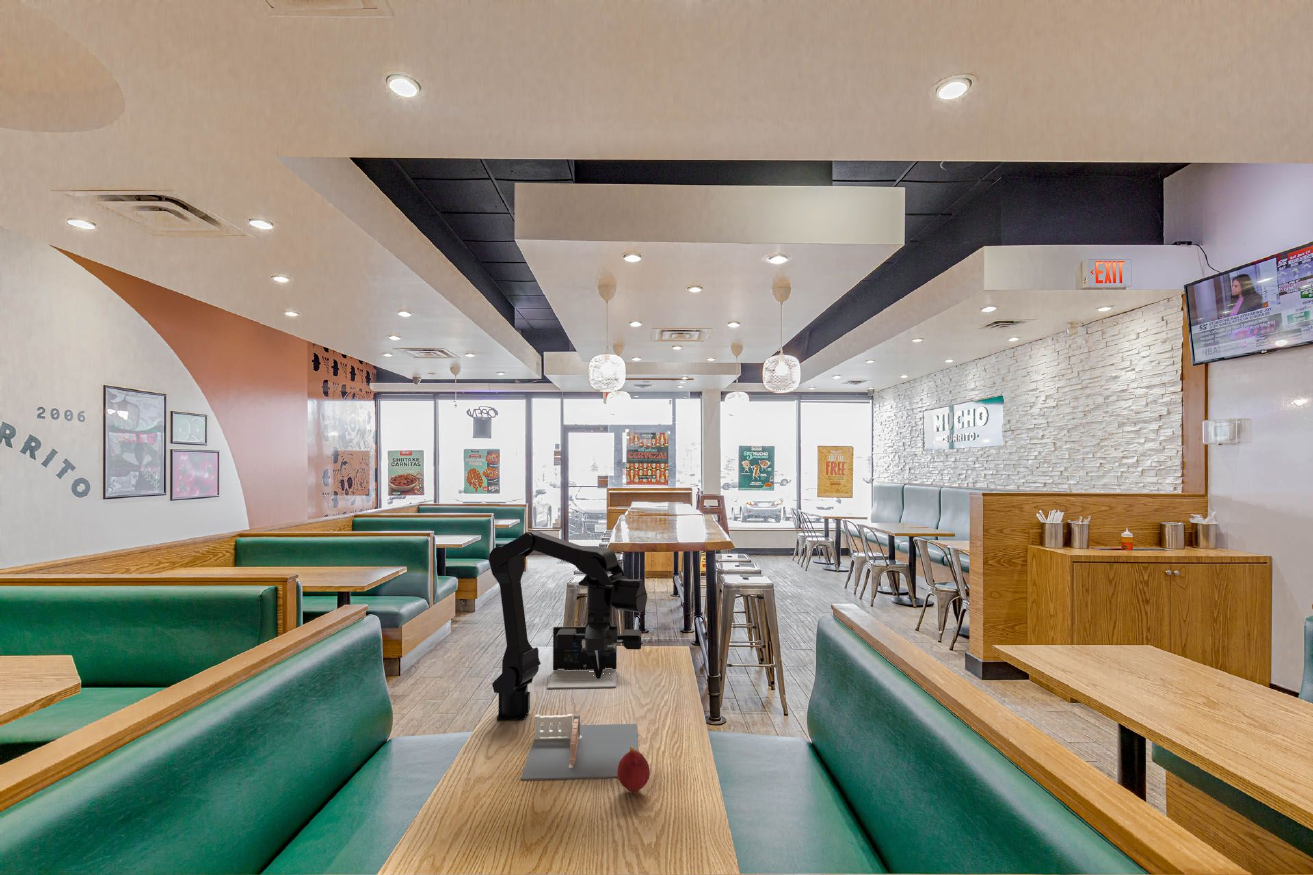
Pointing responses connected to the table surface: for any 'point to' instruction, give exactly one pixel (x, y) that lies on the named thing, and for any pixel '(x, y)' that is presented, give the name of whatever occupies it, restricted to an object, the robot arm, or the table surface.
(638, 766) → the onion
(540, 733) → the fence fixed
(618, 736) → the mat
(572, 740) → the fence gate
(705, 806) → the table surface
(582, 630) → the laptop
